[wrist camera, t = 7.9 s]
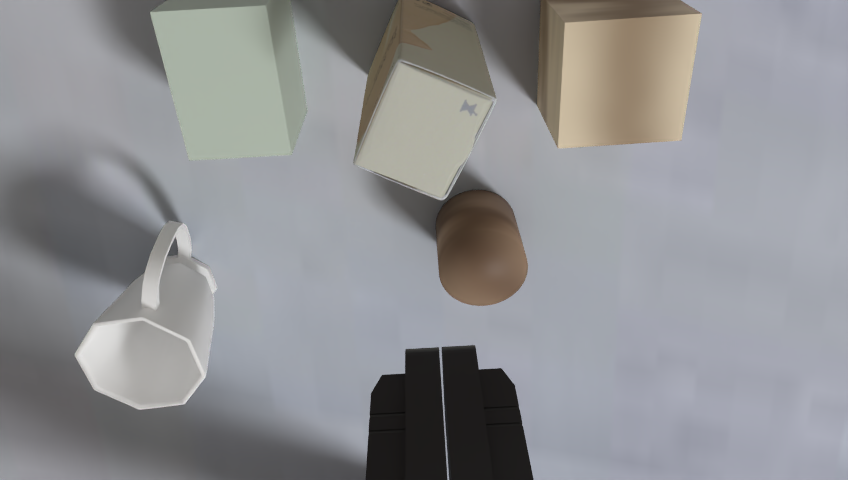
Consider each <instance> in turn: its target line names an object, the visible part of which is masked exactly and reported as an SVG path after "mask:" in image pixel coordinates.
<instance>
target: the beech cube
mask: <svg viewBox="0 0 848 480" xmlns="http://www.w3.org/2000/svg"><path fill="white" fill-rule="evenodd" d="M701 16H702V13H700V12H698V11H697V10H695V9H694V8H692V7H690V6H689V5H687V4H685V3H684V2H682V1H680V0H541V4H540V33H539V62H538V91H537V106H538V108H539V110H540V112H541V114H542V117H543V119H544V121H545V123H546V125H547V127H548V129H549V131H550V133H551V135H552V137H553V139H554V141H555V143H556V145H557V147H558V148H572V147H588V146H603V145H619V144H634V143H649V142H665V141H680V140H681V138H682V132H683V126H684V120H685V114H686V108H687V101H688V95H689V89H690V83H691V77H692V71H693V65H694V58H695V52H696V46H697V40H698V34H699V28H700V22H701Z"/></svg>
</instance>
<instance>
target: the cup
mask: <svg viewBox="0 0 848 480" xmlns="http://www.w3.org/2000/svg"><path fill="white" fill-rule="evenodd" d="M175 237H176V239H177V245H178V255H172V256H167V254H168V252H169V250H170V247H171V245H172V243H173V241H174V239H175ZM191 252H192V245H191V238H190V234H189V231H188V228H187V226H186V225H185V224H184V223H180V222H175V221H168V222H167V223H166V224H165V225H164V226H163V228H162V230H161V232H160V234H159V236H158V238H157V240H156V242H155V244H154V247H153V249H152V251H151V253H150V257H149V260H148V263H147V267H146V270H145V273H143V274H142V275H141V276H139V277H138V278H137V279H135V280H134V281H133V282H132V283H131V284H130V286H129V287H128V288H127V289H126V290H125V291H124V292H123V293H122V294H121V295H120V296H119V297H118V298H117V300H116V301H115V302H114V303H113V304H112V305H111V306H110V307H109V308H108V309H107V310H106V311H105V312H104V313H103V314H102V315H101V316H100V317H99V318H98V319H97V320H96V321H95V322H94V323H93V325H92V326H91V328H90V330H89V331H88V333H87V334H86V336H85V338H84V339H83V341H82V343H81V344H80V346H79V348H78V349H77V351H76V352H75V354H74V356H75V357H76V359H77V361H78V363H79V364H80V366H81V368H82V370H83V371H84V373H85V375H86V376H87V378H88V380H89V382H90V383H91V385H92V387H93V389H94V390H95V391H97V392H100V393H102V394H104V395H106V396H109V397H111V398H113V399H116V400H118V401H120V402H123V403H125V404H127V405H129V406H132V407H134V408H136V409H139V410H143V409H151V408H159V407H167V406H175V405H183V404H185V403H186V402H187V401H188V399H189V398H190V397H191V395H192V394H193V393H194V391H195V390H196V389H197V387H198V386H199V385H200V384H201V382H202V381H203V380H204V378H205V377H206V374H207V367H208V361H209V353H210V346H211V340H212V334H213V328H214V322H215V307H214V296H213V294H214V293H215V291H216V290H217V285H216V282H215V280H214V277H213V275H212V272H211V269H210V267H209V266H208V265H206V264H204V263H202V262H200V261H198V260H196V259H194V258H193V257H191Z"/></svg>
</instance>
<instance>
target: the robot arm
mask: <svg viewBox="0 0 848 480" xmlns="http://www.w3.org/2000/svg"><path fill="white" fill-rule="evenodd" d="M442 364H443V385H444V405H445V422H446V437H447V452H448V467H449V480H533V475H532V470H531V465H530V460H529V455H528V450H527V445H526V440H525V435H524V430H523V426H522V420H521V415H520V410H519V404H518V399H517V394H516V389H515V385H514V384H513V383H512V381H511V380H510V379H509V377H508V376H507V375H506V374H505V372H504V371H503V370H502V369H501V368H499V369H481V370H479V369H478V361H477V354H476V348H475V345H471V346H452V347H442ZM366 480H447V467H446V452H445V436H444V421H443V405H442V389H441V374H440V358H439V347H437V348H419V349H406V352H405V374H392V375H382V376H381V378H380V379H379V381H378V383H377V384H376V386H375V388H374V390H373V391H372V393H371V404H370V420H369V436H368V452H367V468H366Z"/></svg>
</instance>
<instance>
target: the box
mask: <svg viewBox="0 0 848 480" xmlns="http://www.w3.org/2000/svg"><path fill="white" fill-rule="evenodd" d="M496 101H497V100H496V95H495V92H494V89H493V86H492V82H491V79H490V75H489V72H488V69H487V66H486V62H485V59H484V55H483V52H482V49H481V46H480V42H479V39H478V35H477V32H476V29H475V25H474V24H473V23H472V22H470V21H468V20H466V19H464V18H462V17H460V16H458V15H456V14H454V13H452V12H450V11H448V10H446V9H443V8H441V7H439V6H437V5H435V4H433V3H430V2H428V1H425V0H398V2H397V4H396V6H395V9H394V11H393V14H392V16H391V18H390V21H389V23H388V26H387V28H386V30H385V33H384V35H383V38H382V40H381V43H380V45H379V48H378V50H377V53H376V55H375V58H374V60H373V63H372V65H371V68H370V71H369V73H368V78H367V84H366V90H365V96H364V101H363V108H362V114H361V120H360V127H359V133H358V139H357V145H356V151H355V157H354V162H353V164H354V165H355V166H357V167H359V168H362V169H364V170H366V171H369V172H371V173H373V174H376V175H378V176H381V177H383V178H385V179H387V180H390V181H393V182H395V183H397V184H400V185H402V186H405V187H407V188H410V189H412V190H415V191H417V192H420V193H422V194H425V195H428V196H430V197H433V198H435V199H438V200H444V199H445V198H447V196H448V194H449V193H450V191H451V189H452V187H453V185H454V184H455V182H456V180H457V178H458V176H459V175H460V173H461V171H462V169H463V167H464V165H465V163H466V161H467V159H468V157H469V155H470V153H471V152H472V150H473V148H474V146H475V144H476V142H477V140H478V138H479V136H480V134H481V132H482V130H483V128H484V126H485V124H486V122H487V120H488V118H489V116H490V114H491V112H492V110H493V108H494V106H495V104H496Z"/></svg>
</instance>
